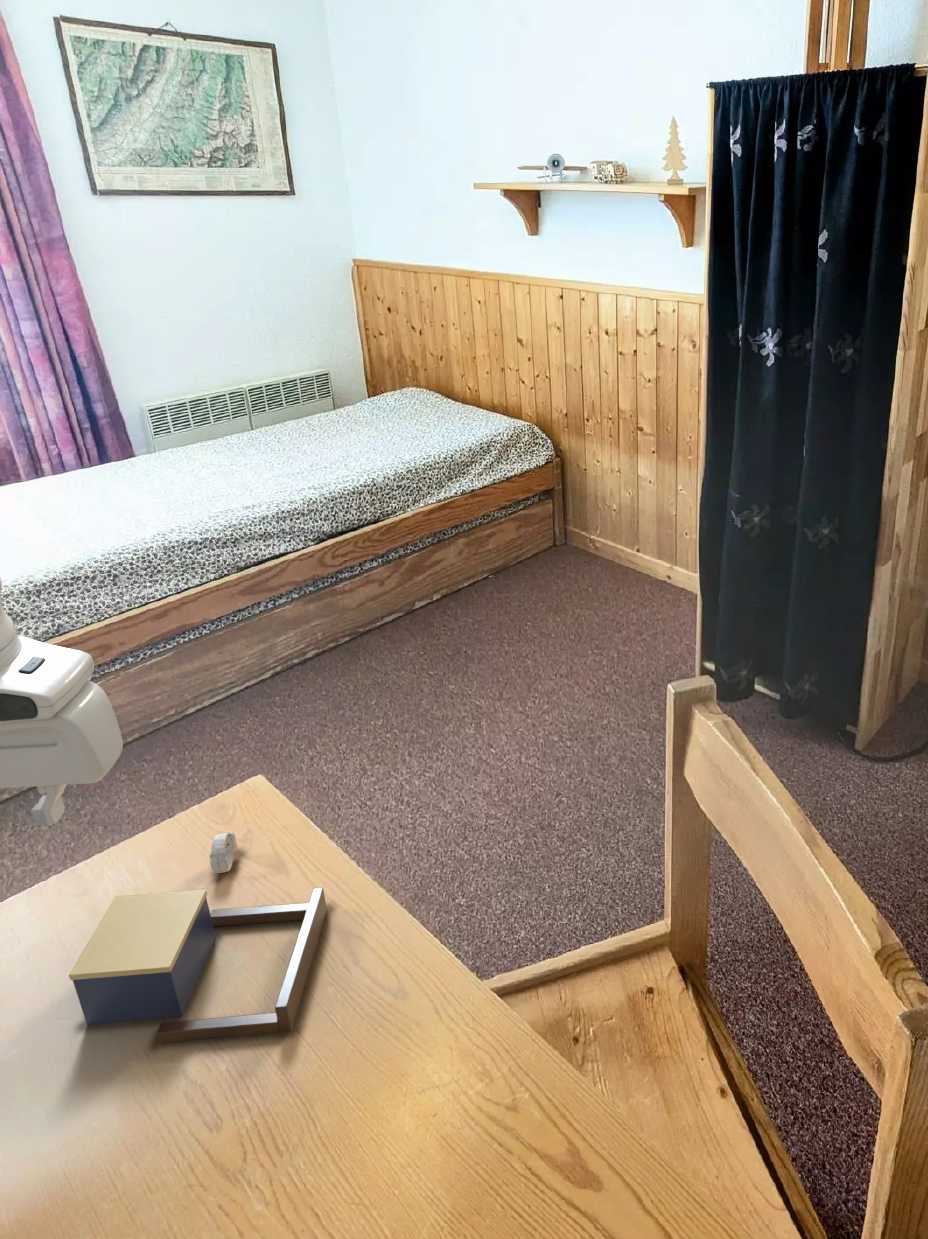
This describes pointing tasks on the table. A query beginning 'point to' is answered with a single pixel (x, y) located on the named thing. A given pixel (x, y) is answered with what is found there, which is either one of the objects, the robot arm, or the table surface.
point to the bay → (291, 985)
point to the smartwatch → (223, 852)
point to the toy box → (144, 957)
